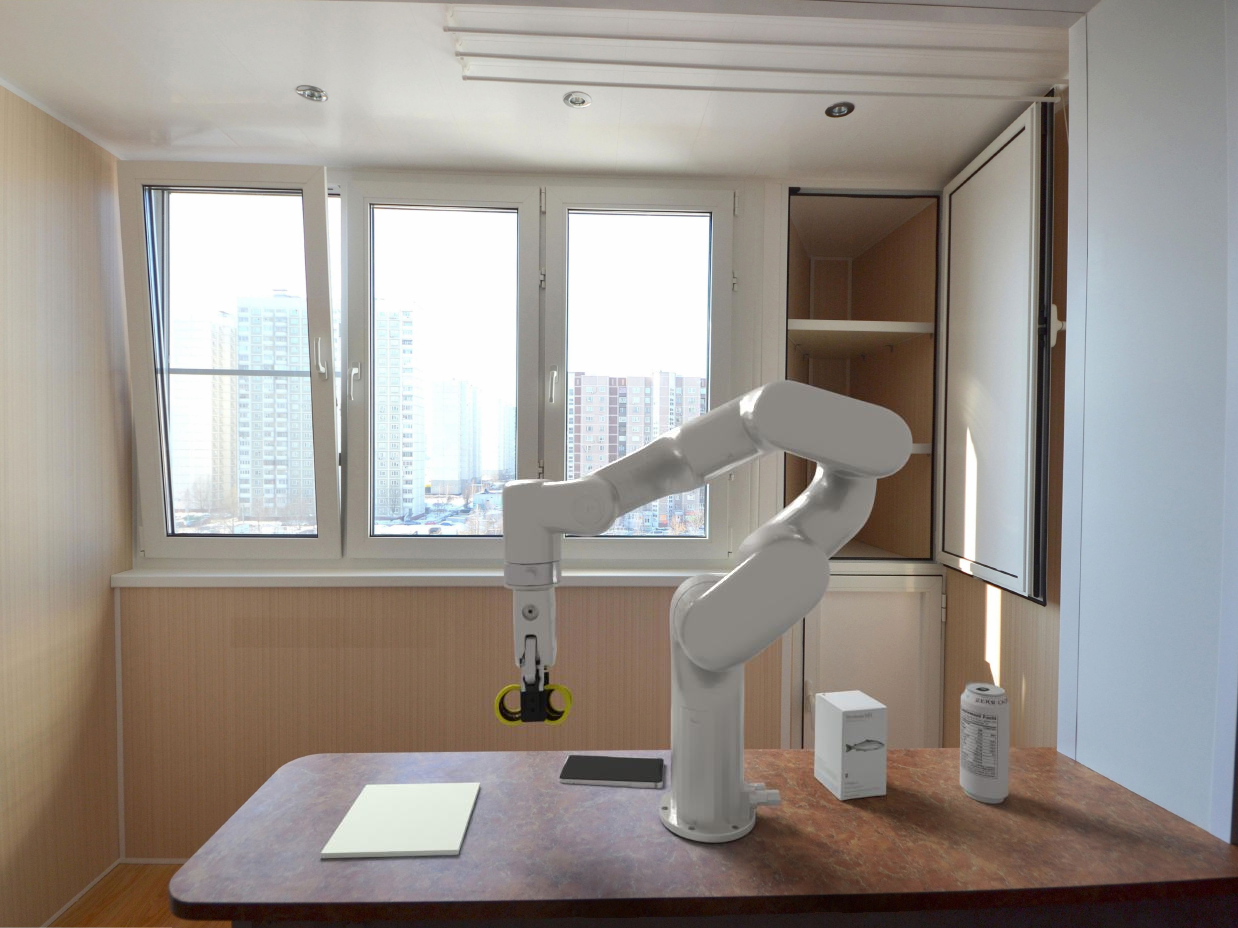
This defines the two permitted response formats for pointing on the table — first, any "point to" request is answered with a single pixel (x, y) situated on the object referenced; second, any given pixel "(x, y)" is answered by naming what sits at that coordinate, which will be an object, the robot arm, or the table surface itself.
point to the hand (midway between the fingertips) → (535, 709)
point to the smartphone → (613, 771)
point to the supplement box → (850, 744)
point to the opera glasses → (552, 713)
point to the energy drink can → (984, 742)
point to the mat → (405, 821)
